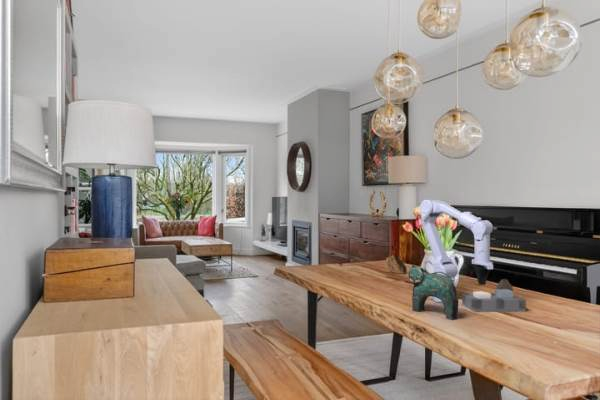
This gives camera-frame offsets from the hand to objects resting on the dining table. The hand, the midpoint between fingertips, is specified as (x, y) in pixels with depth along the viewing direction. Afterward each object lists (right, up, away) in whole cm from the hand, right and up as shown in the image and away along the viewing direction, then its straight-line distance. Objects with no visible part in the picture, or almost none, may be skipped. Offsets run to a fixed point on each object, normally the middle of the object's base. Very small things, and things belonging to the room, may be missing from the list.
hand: (481, 284), depth 176 cm
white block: (0, -7, 0) cm, 7 cm away
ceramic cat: (-22, -10, -10) cm, 26 cm away
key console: (+5, -9, 0) cm, 10 cm away
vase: (+16, -10, +15) cm, 24 cm away
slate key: (+9, -6, 0) cm, 11 cm away
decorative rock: (-16, -9, +83) cm, 85 cm away
